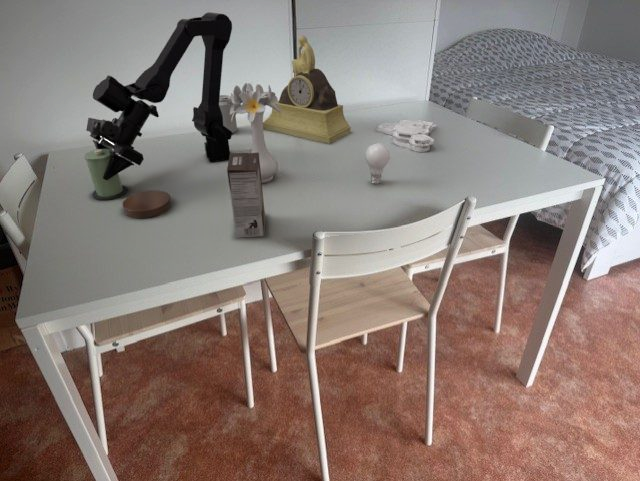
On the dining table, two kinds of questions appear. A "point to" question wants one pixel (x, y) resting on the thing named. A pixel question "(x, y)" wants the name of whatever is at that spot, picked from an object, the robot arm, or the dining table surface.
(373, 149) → the lightbulb
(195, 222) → the dining table surface
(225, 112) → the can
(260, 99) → the flower vase
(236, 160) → the coffee box
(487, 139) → the dining table surface
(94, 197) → the coaster
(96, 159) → the canister
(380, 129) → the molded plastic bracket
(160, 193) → the platform
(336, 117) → the decorative clock
